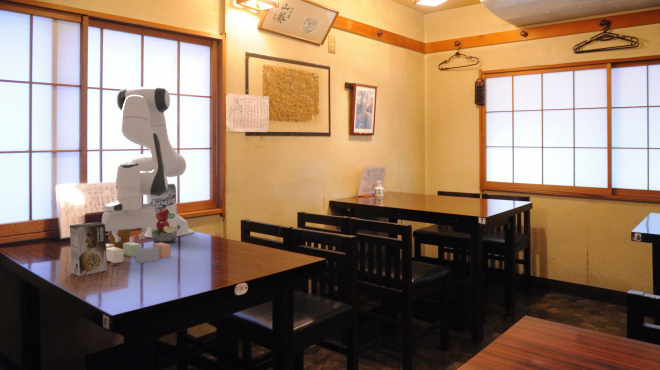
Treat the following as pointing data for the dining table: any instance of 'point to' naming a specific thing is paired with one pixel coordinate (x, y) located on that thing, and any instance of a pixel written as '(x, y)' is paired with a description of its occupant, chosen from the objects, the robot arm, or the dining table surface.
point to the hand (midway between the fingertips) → (130, 240)
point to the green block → (130, 248)
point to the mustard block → (109, 245)
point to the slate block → (147, 254)
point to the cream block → (114, 254)
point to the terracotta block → (163, 249)
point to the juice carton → (165, 216)
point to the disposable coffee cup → (124, 238)
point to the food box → (88, 248)
